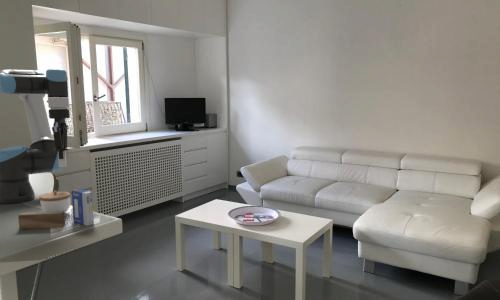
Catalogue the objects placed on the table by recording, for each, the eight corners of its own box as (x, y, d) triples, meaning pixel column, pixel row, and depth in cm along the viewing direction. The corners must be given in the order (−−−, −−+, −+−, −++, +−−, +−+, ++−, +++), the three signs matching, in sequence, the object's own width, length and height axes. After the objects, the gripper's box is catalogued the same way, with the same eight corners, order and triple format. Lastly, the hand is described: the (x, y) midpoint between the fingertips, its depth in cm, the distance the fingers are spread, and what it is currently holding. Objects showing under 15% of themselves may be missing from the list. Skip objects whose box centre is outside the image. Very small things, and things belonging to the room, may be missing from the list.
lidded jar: (77, 212, 157) (76, 189, 156) (52, 220, 148) (50, 195, 146) (60, 209, 162) (59, 186, 161) (34, 215, 153) (33, 191, 152)
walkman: (73, 222, 145) (71, 189, 143) (80, 220, 147) (78, 188, 146) (87, 225, 141) (85, 192, 139) (94, 223, 143) (92, 191, 142)
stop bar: (22, 226, 140) (21, 212, 140) (65, 224, 142) (64, 211, 142) (19, 229, 137) (18, 215, 137) (62, 227, 139) (61, 213, 139)
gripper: (54, 108, 167) (57, 164, 170) (43, 109, 154) (47, 169, 157) (73, 108, 168) (76, 163, 171) (64, 108, 155) (67, 169, 158)
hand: (62, 166), depth 164 cm, fingers closed
